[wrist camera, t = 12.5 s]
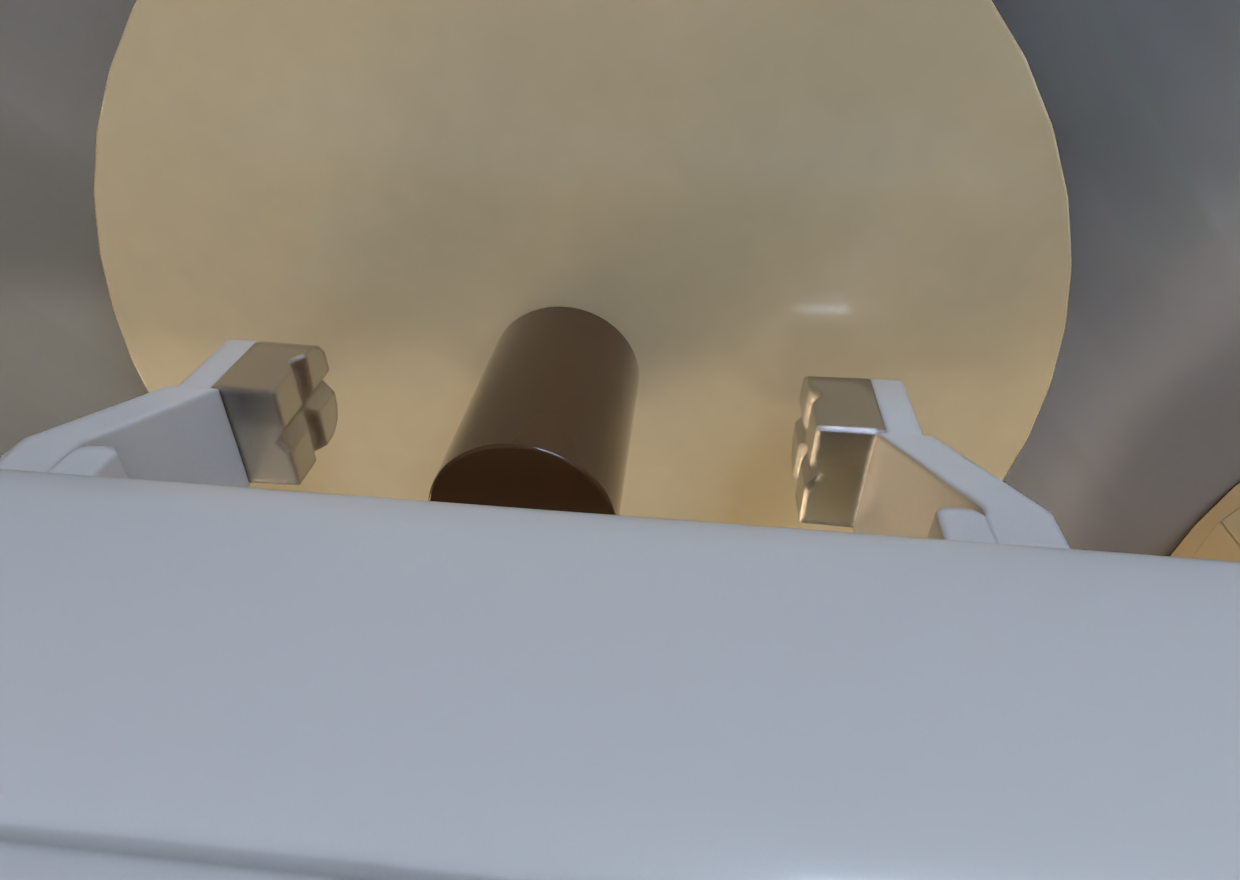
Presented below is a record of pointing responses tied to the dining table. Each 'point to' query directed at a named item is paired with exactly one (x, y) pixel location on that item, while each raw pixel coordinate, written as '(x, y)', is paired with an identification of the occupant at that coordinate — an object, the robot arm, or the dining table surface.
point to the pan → (1215, 532)
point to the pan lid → (590, 232)
